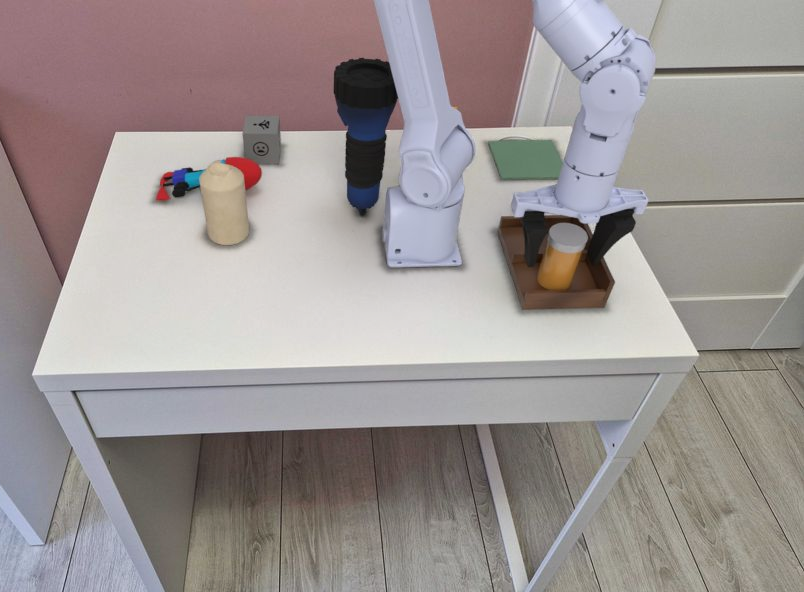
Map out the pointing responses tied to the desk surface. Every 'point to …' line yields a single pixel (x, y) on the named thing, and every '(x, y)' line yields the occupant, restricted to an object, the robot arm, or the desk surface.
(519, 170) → the green mat
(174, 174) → the toy figure
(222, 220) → the candle
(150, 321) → the desk surface
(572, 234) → the disc
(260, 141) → the dice cube
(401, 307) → the desk surface
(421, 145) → the robot arm
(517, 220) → the tray
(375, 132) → the flashlight
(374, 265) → the desk surface
